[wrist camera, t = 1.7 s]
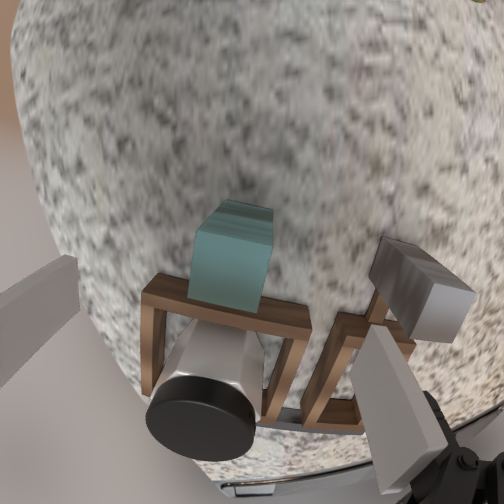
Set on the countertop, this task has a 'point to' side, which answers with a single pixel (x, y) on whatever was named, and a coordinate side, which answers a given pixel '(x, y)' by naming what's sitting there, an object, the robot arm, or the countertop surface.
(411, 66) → the countertop surface
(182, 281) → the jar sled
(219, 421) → the jar
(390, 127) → the countertop surface
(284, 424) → the end bar
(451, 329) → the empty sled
